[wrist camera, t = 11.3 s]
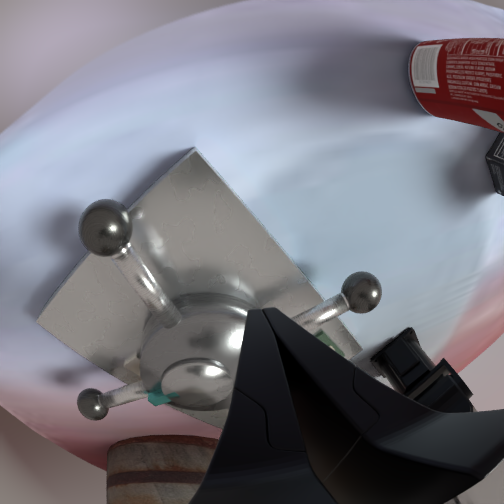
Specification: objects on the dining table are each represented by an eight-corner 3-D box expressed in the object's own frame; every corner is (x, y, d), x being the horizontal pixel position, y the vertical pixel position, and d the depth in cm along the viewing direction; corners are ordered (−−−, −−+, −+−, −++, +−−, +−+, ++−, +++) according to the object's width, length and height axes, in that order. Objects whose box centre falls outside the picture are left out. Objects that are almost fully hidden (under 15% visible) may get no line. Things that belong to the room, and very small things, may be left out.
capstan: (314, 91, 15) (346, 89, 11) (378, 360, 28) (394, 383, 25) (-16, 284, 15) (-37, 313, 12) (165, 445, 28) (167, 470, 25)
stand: (354, 336, 29) (364, 352, 26) (225, 417, 31) (228, 434, 29) (195, 146, 17) (196, 151, 15) (43, 306, 19) (34, 324, 17)
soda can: (392, 89, 17) (531, 107, 7) (413, 26, 15) (536, 19, 5) (442, 130, 20) (557, 169, 9) (460, 71, 17) (568, 90, 7)
